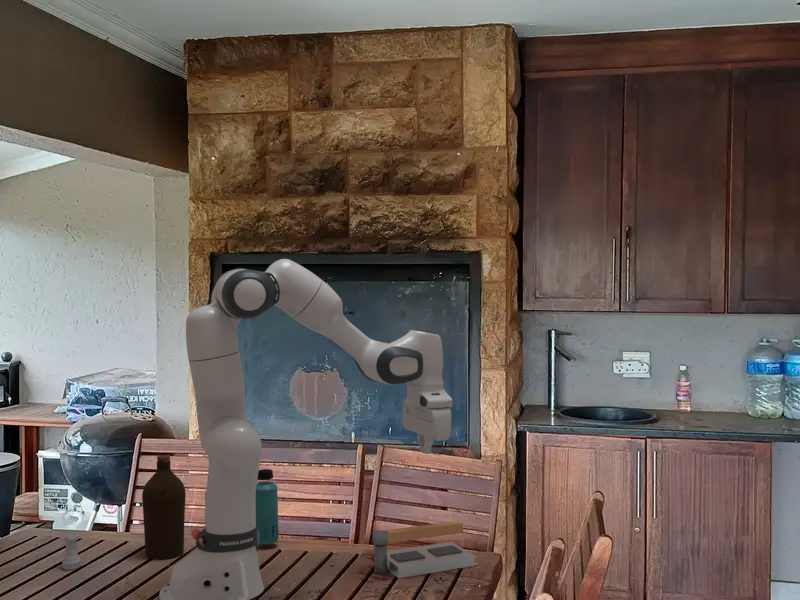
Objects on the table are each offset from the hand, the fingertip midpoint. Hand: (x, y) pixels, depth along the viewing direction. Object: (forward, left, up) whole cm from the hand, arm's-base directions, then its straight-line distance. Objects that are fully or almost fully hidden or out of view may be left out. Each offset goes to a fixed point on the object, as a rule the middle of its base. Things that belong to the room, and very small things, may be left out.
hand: (425, 453), depth 199 cm
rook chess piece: (-79, +34, -27) cm, 90 cm away
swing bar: (-2, 0, -20) cm, 20 cm away
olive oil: (-57, +35, -27) cm, 72 cm away
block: (-2, 0, -27) cm, 27 cm away
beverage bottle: (-32, +30, -27) cm, 52 cm away
